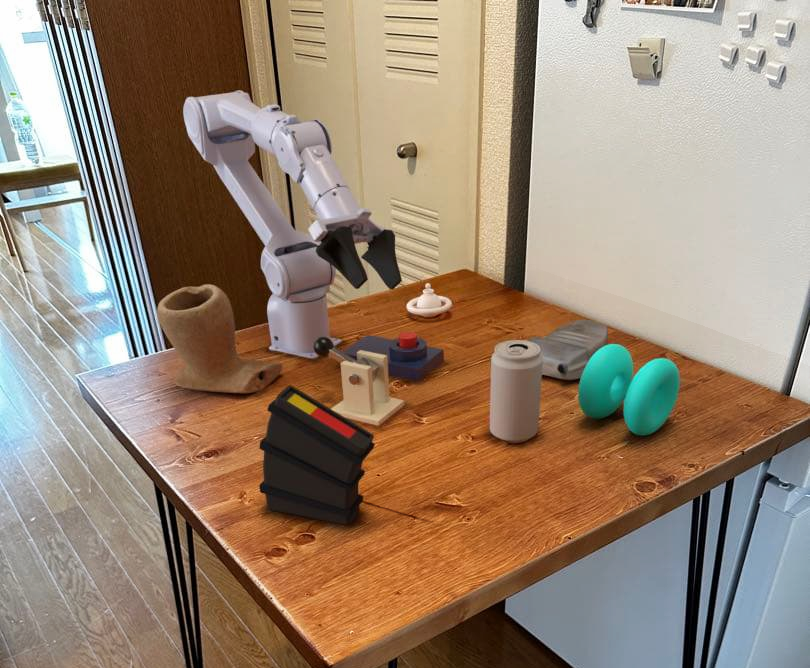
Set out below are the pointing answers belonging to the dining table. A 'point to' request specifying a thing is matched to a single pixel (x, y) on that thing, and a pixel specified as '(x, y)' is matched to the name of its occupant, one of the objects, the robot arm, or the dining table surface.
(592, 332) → the handheld device
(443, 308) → the ring around a ball
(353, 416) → the switch box
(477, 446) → the dining table surface
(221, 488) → the dining table surface
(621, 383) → the turquoise spool
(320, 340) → the toggle
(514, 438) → the beverage can
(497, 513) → the dining table surface
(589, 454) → the dining table surface
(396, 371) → the push button base
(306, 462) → the magazine
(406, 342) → the red push button
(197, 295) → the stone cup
